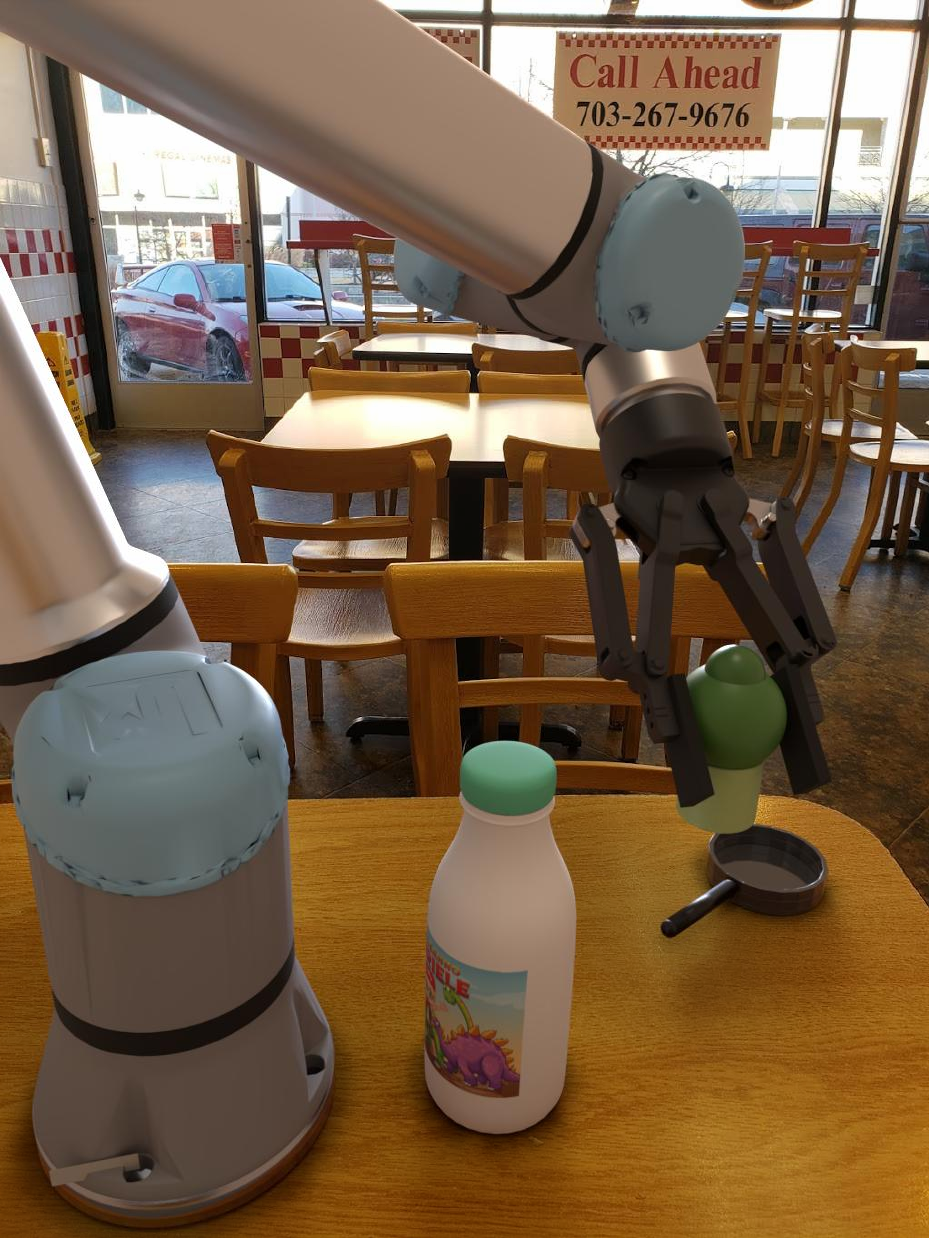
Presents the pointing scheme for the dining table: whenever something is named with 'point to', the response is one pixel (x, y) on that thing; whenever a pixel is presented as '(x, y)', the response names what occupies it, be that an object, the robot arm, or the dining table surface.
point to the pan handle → (698, 908)
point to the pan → (768, 869)
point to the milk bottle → (500, 948)
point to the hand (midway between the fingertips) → (755, 793)
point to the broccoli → (734, 735)
